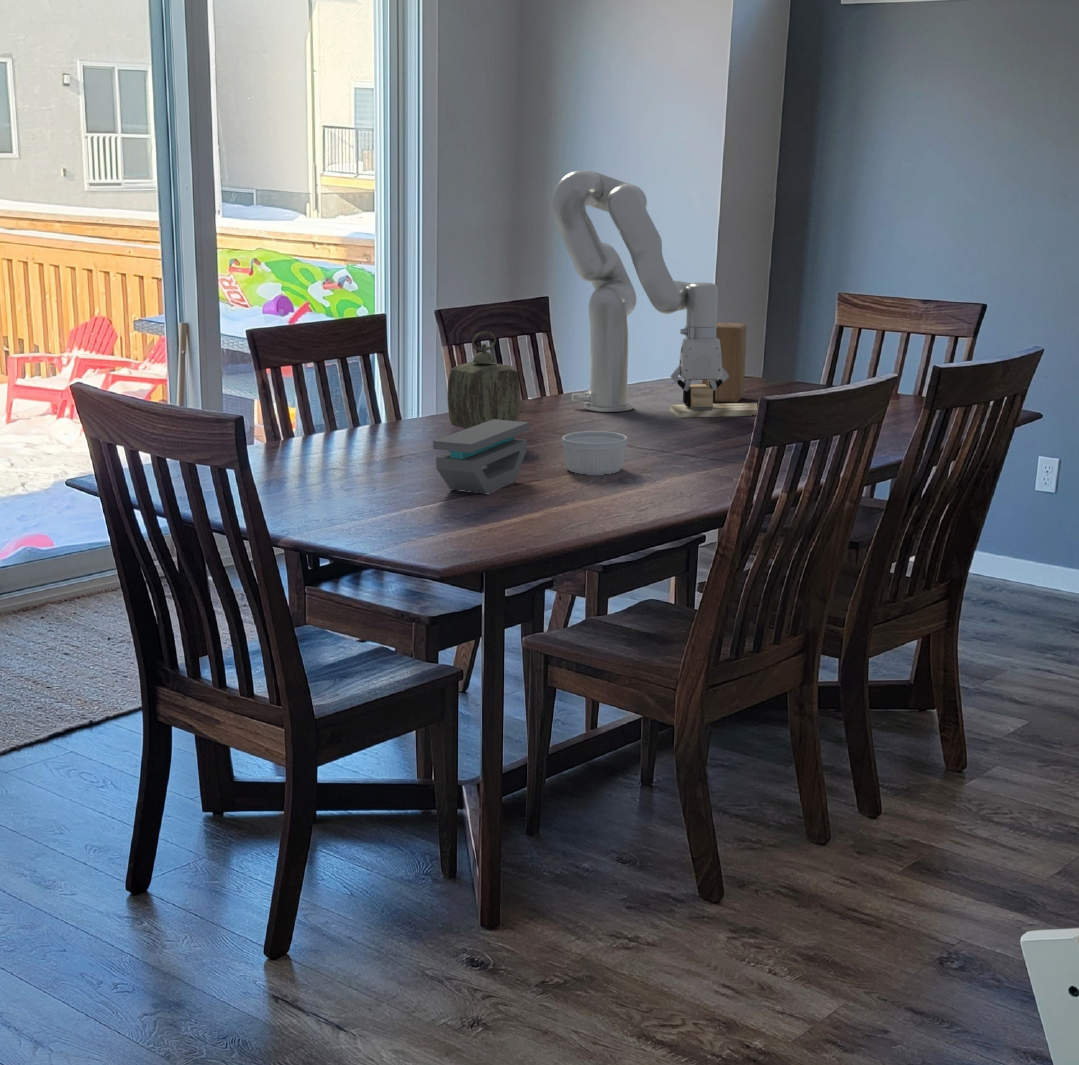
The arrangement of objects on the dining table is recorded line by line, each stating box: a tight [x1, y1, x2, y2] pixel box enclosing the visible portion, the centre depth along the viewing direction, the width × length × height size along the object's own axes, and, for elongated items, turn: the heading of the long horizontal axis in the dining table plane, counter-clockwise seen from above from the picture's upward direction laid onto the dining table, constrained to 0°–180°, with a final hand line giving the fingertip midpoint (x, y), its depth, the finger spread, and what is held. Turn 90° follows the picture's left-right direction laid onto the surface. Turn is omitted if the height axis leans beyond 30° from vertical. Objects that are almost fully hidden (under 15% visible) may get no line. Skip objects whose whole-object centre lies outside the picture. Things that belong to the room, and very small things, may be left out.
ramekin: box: [561, 430, 628, 476], centre depth 278 cm, size 13×13×7 cm
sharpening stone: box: [432, 419, 530, 494], centre depth 262 cm, size 25×8×11 cm, turn 155°
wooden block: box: [701, 321, 748, 403], centre depth 361 cm, size 10×10×20 cm
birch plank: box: [669, 402, 758, 418], centre depth 344 cm, size 24×10×2 cm, turn 98°
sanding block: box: [689, 383, 714, 410], centre depth 342 cm, size 9×5×5 cm, turn 6°
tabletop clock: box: [447, 330, 521, 430], centre depth 301 cm, size 14×9×25 cm, turn 134°
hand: (698, 405), depth 343 cm, fingers closed on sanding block, 5 cm apart
